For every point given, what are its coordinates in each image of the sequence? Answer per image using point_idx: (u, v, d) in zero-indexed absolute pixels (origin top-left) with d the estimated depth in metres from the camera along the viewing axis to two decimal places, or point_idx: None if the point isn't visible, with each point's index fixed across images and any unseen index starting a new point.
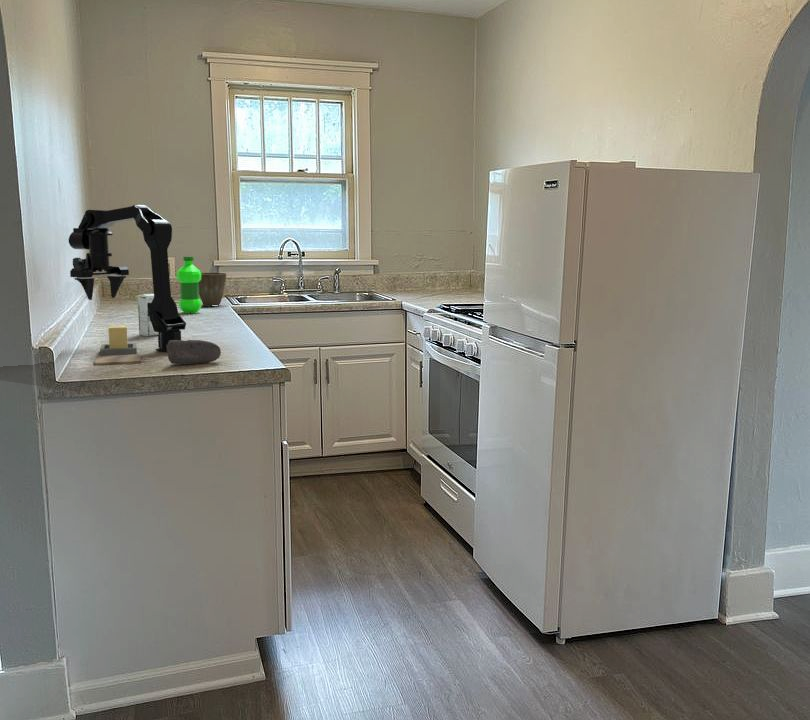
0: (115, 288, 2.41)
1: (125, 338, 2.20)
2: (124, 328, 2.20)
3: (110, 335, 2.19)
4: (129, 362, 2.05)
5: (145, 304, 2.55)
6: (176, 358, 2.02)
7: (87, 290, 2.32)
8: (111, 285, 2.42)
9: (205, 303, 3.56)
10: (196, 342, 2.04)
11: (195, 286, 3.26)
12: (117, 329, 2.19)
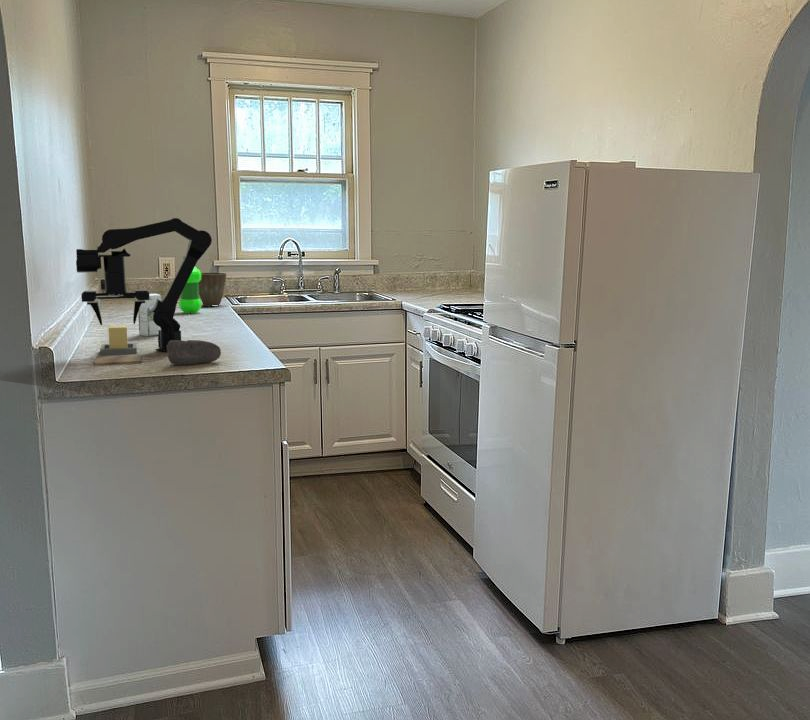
0: None
1: (125, 338, 2.20)
2: (124, 328, 2.20)
3: (110, 335, 2.19)
4: (129, 362, 2.05)
5: (145, 304, 2.55)
6: (176, 358, 2.02)
7: None
8: None
9: (205, 303, 3.56)
10: (196, 343, 2.04)
11: (195, 286, 3.26)
12: (117, 329, 2.19)
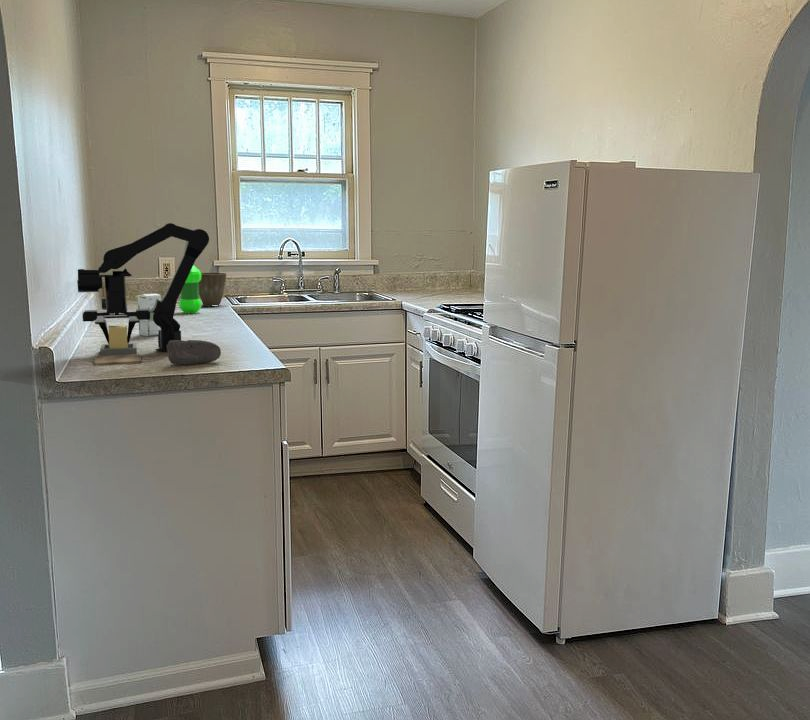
0: None
1: (125, 338, 2.20)
2: (124, 328, 2.20)
3: (110, 335, 2.19)
4: (129, 362, 2.05)
5: (145, 304, 2.55)
6: (176, 358, 2.02)
7: None
8: None
9: (205, 303, 3.56)
10: (196, 342, 2.04)
11: (195, 286, 3.26)
12: (117, 329, 2.19)
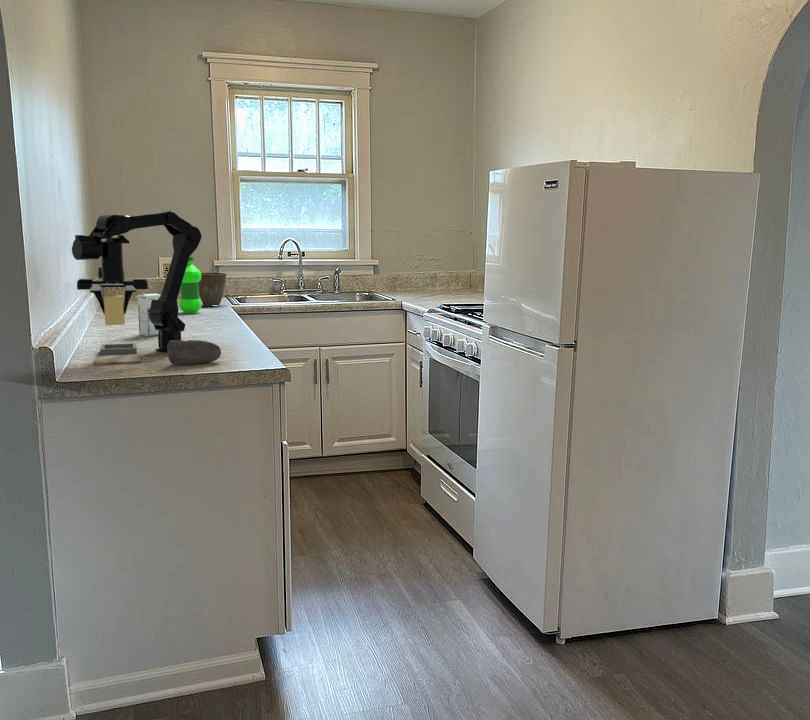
0: (124, 303, 2.12)
1: (121, 308, 2.11)
2: (120, 297, 2.10)
3: (106, 304, 2.09)
4: (129, 362, 2.05)
5: (145, 304, 2.55)
6: (176, 358, 2.02)
7: None
8: None
9: (205, 303, 3.56)
10: (196, 343, 2.04)
11: (195, 286, 3.26)
12: (113, 298, 2.10)
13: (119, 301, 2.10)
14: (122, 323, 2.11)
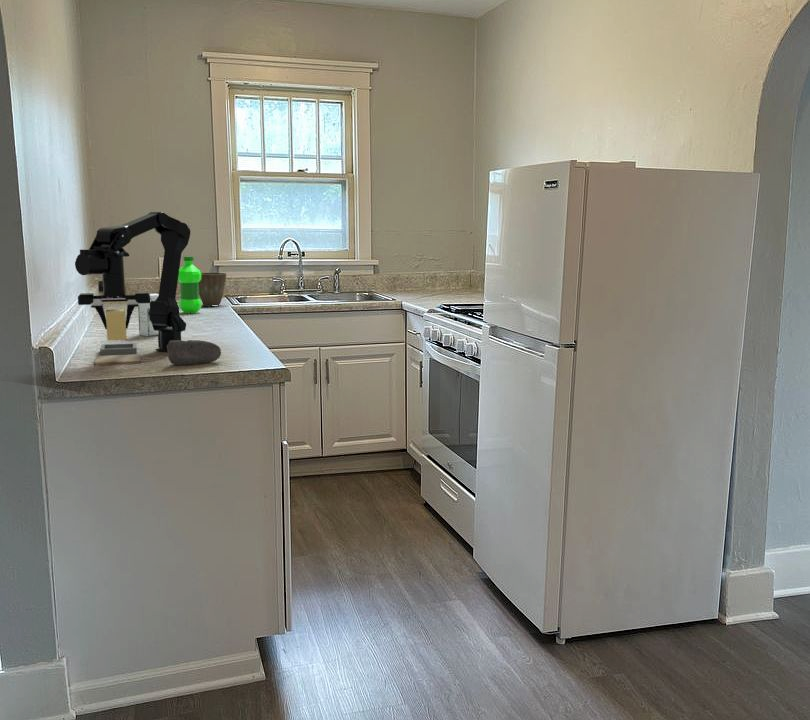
0: (126, 318, 2.08)
1: (123, 323, 2.06)
2: (122, 312, 2.06)
3: (107, 319, 2.05)
4: (129, 362, 2.05)
5: (145, 304, 2.55)
6: (176, 358, 2.02)
7: None
8: None
9: (205, 303, 3.56)
10: (196, 343, 2.04)
11: (195, 286, 3.26)
12: (115, 313, 2.05)
13: (121, 316, 2.06)
14: (124, 338, 2.07)
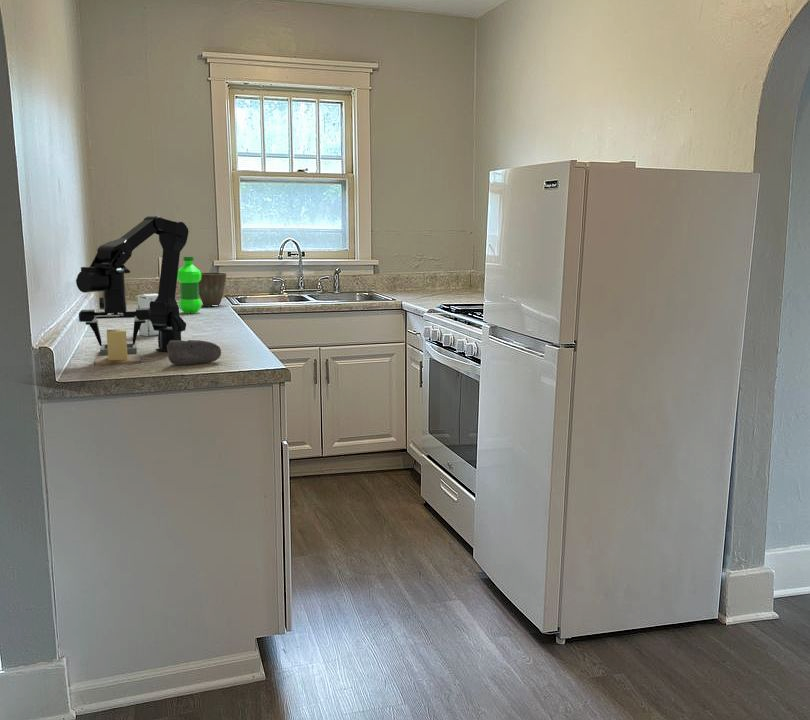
0: (133, 334, 2.09)
1: (124, 343, 2.07)
2: (123, 332, 2.07)
3: (108, 339, 2.06)
4: (129, 362, 2.05)
5: (145, 304, 2.55)
6: (177, 358, 2.02)
7: None
8: None
9: (205, 303, 3.56)
10: (196, 343, 2.04)
11: (195, 286, 3.26)
12: (116, 333, 2.06)
13: (122, 336, 2.07)
14: (125, 358, 2.08)
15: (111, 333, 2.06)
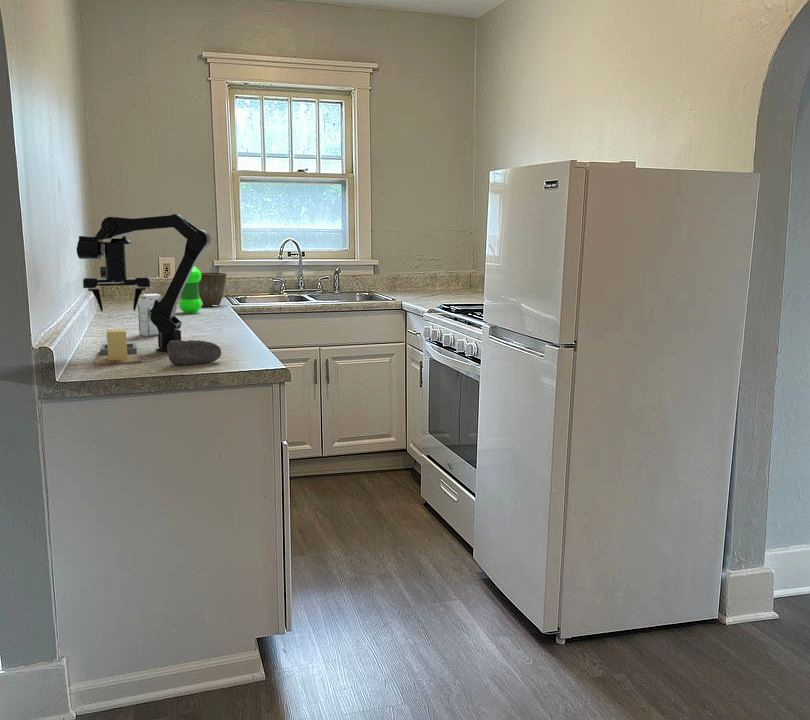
0: (134, 300, 2.25)
1: (124, 343, 2.07)
2: (123, 332, 2.07)
3: (108, 339, 2.06)
4: (129, 362, 2.05)
5: (145, 304, 2.55)
6: (177, 358, 2.02)
7: (97, 301, 2.22)
8: None
9: (205, 303, 3.56)
10: (196, 343, 2.04)
11: (195, 286, 3.26)
12: (116, 333, 2.06)
13: (122, 336, 2.07)
14: (125, 358, 2.08)
15: (111, 333, 2.06)
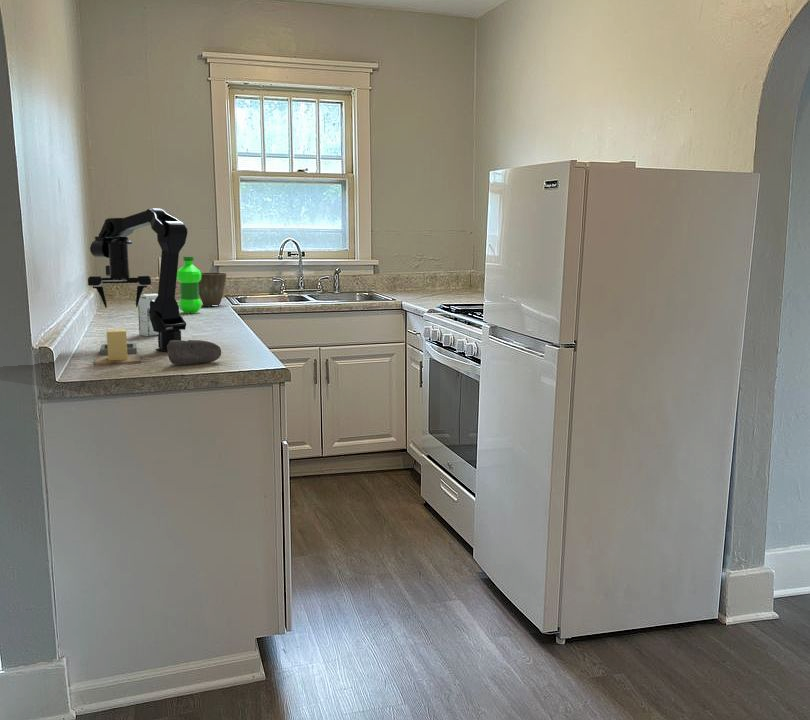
0: (136, 297, 2.37)
1: (124, 343, 2.07)
2: (123, 332, 2.07)
3: (108, 339, 2.06)
4: (129, 362, 2.05)
5: (145, 304, 2.55)
6: (177, 358, 2.02)
7: None
8: None
9: (205, 303, 3.56)
10: (196, 342, 2.04)
11: (195, 286, 3.26)
12: (116, 333, 2.06)
13: (122, 336, 2.07)
14: (125, 358, 2.08)
15: (111, 333, 2.06)
